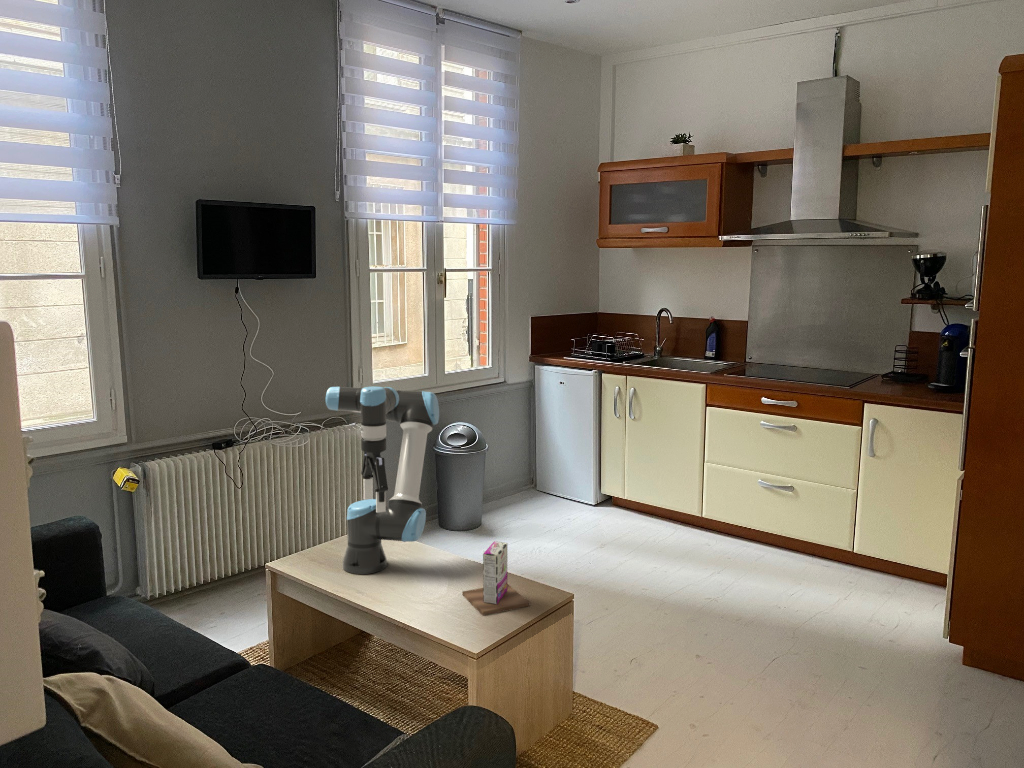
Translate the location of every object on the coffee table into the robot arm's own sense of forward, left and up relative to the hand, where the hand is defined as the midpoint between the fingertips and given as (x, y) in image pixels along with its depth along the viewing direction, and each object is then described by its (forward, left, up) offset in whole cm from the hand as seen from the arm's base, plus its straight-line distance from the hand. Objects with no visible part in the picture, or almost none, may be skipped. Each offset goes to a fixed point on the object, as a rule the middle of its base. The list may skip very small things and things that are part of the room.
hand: (374, 505), depth 242 cm
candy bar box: (+14, +35, -31) cm, 49 cm away
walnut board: (+14, +35, -32) cm, 49 cm away
